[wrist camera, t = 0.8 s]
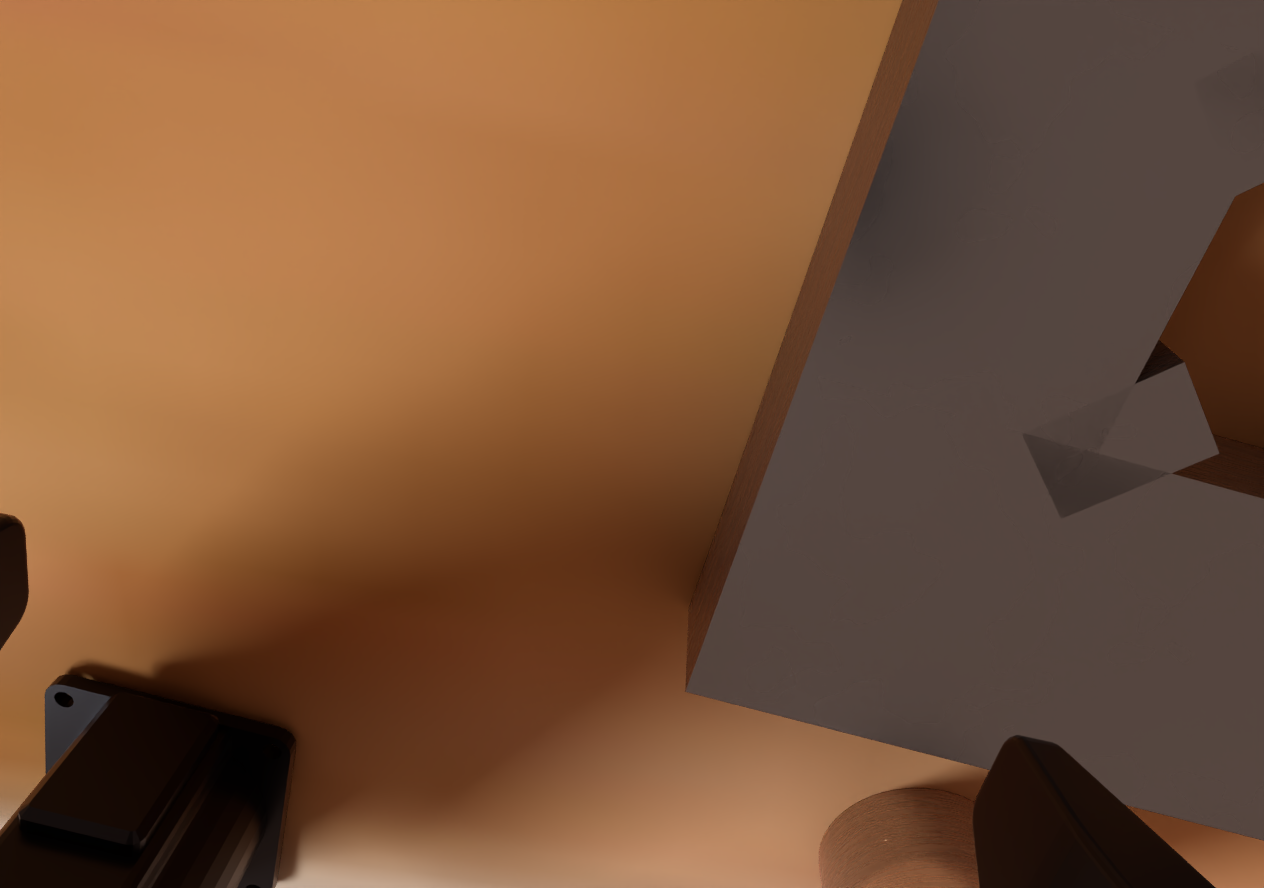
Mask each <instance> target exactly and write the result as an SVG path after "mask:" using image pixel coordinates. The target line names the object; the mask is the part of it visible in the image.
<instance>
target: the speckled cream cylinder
mask: <svg viewBox="0 0 1264 888" xmlns="http://www.w3.org/2000/svg"><path fill="white" fill-rule="evenodd" d="M973 807H974V802H973V801H971V800H969V799H966V798H964V797H962V796H959V795H956V794H953V793H950V792H945V791H940V790H934V789H924V788H910V789H899V790H893V791H888V792H884V793H880V794H877V795H874V796H871V797H869V798H866V799H864V800H862V801H860V802H858V803H856V804H854V805H852V806H851V807H850V808H848V809H847V810H845V811H844V812H843V813H841V814H840V815H839V816H838V817H837V818H836V819H835V820H834V821H833V823H832V824H831V825H830V826H829V827H828V829H827V831H826V833H825V834H824V836H823V839H822V841H821V844H820V849H819V868H820V877H821V886H822V888H979V883H978V874H977V865H976V856H975V847H974V838H973V829H972V813H973Z"/></svg>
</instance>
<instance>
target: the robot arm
mask: <svg viewBox="0 0 1264 888" xmlns="http://www.w3.org/2000/svg"><path fill="white" fill-rule="evenodd" d="M28 594H29V588H28V571H27V553H26V535H25V529H24V527H23V524H22V522H21V521H20V520H19V519H17V518H16V517H15V516H12V515H8V514H3V513H0V650H1V648H2V647H3V645H4V644H5V642H6V641H7V640H8V638H9V637H10V635H11V634H12V632H13V631H14V629H15V628H16V626H17V625H18V623H19V622H20V620H21V618H22V616H23V614H24V612H25V609H26V606H27V602H28ZM68 694H69V695H68ZM271 744H273V745H275V746H277V747H278V748H276V747H274V746H272V745H271ZM45 752H46V775H45V776H44V778H43V779H42V780H41V781H40V782H39V784H38V785H37V786H36V787H35V789H34V790H33V791H32V792H31V793H30V795H29V796H28V797H27V798H26V800H25V801H24V802H23V803H22V804H21V806H20V807H19V808H18V809H17V811H16V812H15V813H14V814H13V815H12V817H11V818H10V819H9V820H8V822H7V823H6V824H5V825H4V826H3V828H2V829H1V830H0V888H275V886H276V884H277V879H278V872H279V864H280V857H281V850H282V843H283V836H284V829H285V822H286V815H287V808H288V801H289V794H290V787H291V780H292V773H293V766H294V759H295V752H296V740H295V738H294V736H293V735H292V734H291V733H290V732H289V731H287V730H286V729H283V728H281V727H278V726H274V725H270V724H266V723H262V722H258V721H254V720H250V719H246V718H242V717H238V716H234V715H230V714H226V713H222V712H218V711H214V710H210V709H206V708H202V707H198V706H194V705H190V704H186V703H182V702H178V701H174V700H170V699H166V698H162V697H158V696H154V695H150V694H146V693H142V692H138V691H134V690H130V689H126V688H122V687H118V686H114V685H110V684H106V683H102V682H98V681H94V680H90V679H86V678H82V677H78V676H74V675H62V676H59V677H58V678H57V679H56V680H55V681H54V682H53V683H52V684H51V685H50V686H49V687H48V688H47V690H46V693H45ZM972 829H973V838H974V847H975V856H976V865H977V874H978V883H979V888H1215V887H1214V886H1213V885H1212V884H1211V883H1210V882H1209V881H1208V880H1206V879H1205V878H1204V877H1203V876H1202V875H1201V874H1200V873H1199V872H1198V871H1197V870H1196V869H1194V868H1193V867H1192V866H1191V865H1190V864H1189V863H1188V862H1187V861H1186V860H1185V859H1183V858H1182V857H1181V856H1180V855H1179V854H1178V853H1177V852H1176V851H1175V850H1174V849H1172V848H1171V847H1170V846H1169V845H1168V844H1167V843H1166V842H1165V841H1164V840H1163V839H1162V838H1160V837H1159V836H1158V835H1157V834H1156V833H1155V832H1154V831H1153V830H1152V829H1151V828H1149V827H1148V826H1147V825H1146V824H1145V823H1144V822H1143V821H1142V820H1141V819H1140V818H1139V817H1137V816H1136V815H1135V814H1134V813H1133V812H1132V811H1131V810H1130V809H1129V808H1128V807H1126V806H1125V805H1124V804H1123V803H1122V802H1121V801H1120V800H1119V799H1118V798H1117V797H1116V796H1114V795H1113V794H1112V793H1111V792H1110V791H1109V790H1108V789H1107V788H1106V787H1105V786H1103V785H1102V784H1101V783H1100V782H1099V781H1098V780H1097V779H1096V778H1095V777H1094V776H1093V775H1091V774H1090V773H1089V772H1088V771H1087V770H1086V769H1085V768H1084V767H1083V766H1082V765H1080V764H1079V763H1078V762H1077V761H1076V760H1075V759H1074V758H1073V757H1072V756H1071V755H1070V754H1068V753H1067V752H1066V751H1065V750H1064V749H1063V748H1062V747H1060V746H1059V745H1057V744H1055V743H1053V742H1049V741H1045V740H1040V739H1035V738H1031V737H1026V736H1022V735H1015V736H1012V737H1009V738H1008V739H1007V740H1006V741H1005V742H1004V744H1003V745H1002V747H1001V749H1000V751H999V753H998V755H997V757H996V759H995V761H994V763H993V765H992V767H991V769H990V771H989V773H988V775H987V777H986V779H985V781H984V783H983V785H982V787H981V789H980V791H979V793H978V795H977V797H976V800H975V803H974V807H973V813H972Z"/></svg>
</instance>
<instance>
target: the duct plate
mask: <svg viewBox="0 0 1264 888" xmlns="http://www.w3.org/2000/svg"><path fill="white" fill-rule="evenodd" d="M1262 183H1264V0H903V1H902V4H901V7H900V9H899V12H898V15H897V18H896V21H895V24H894V26H893V29H892V32H891V35H890V38H889V41H888V44H887V46H886V49H885V52H884V55H883V58H882V61H881V63H880V66H879V69H878V72H877V75H876V78H875V81H874V83H873V86H872V89H871V92H870V95H869V98H868V100H867V103H866V106H865V109H864V112H863V115H862V118H861V120H860V123H859V126H858V129H857V132H856V135H855V137H854V140H853V143H852V146H851V149H850V152H849V154H848V157H847V160H846V163H845V166H844V169H843V172H842V174H841V177H840V180H839V183H838V186H837V189H836V191H835V194H834V197H833V200H832V203H831V206H830V209H829V211H828V214H827V217H826V220H825V223H824V226H823V228H822V231H821V234H820V237H819V240H818V243H817V246H816V248H815V251H814V254H813V257H812V260H811V263H810V265H809V268H808V271H807V274H806V277H805V280H804V283H803V285H802V288H801V291H800V294H799V297H798V300H797V302H796V305H795V308H794V311H793V314H792V317H791V320H790V322H789V325H788V328H787V331H786V334H785V337H784V339H783V342H782V345H781V348H780V351H779V354H778V356H777V359H776V362H775V365H774V368H773V371H772V374H771V376H770V379H769V382H768V385H767V388H766V391H765V393H764V396H763V399H762V402H761V405H760V408H759V411H758V413H757V416H756V419H755V422H754V425H753V428H752V430H751V433H750V436H749V439H748V442H747V445H746V448H745V450H744V453H743V456H742V459H741V462H740V465H739V467H738V470H737V473H736V476H735V479H734V482H733V485H732V487H731V490H730V493H729V496H728V499H727V502H726V504H725V507H724V510H723V513H722V516H721V519H720V522H719V524H718V527H717V530H716V533H715V536H714V539H713V541H712V544H711V547H710V550H709V553H708V556H707V558H706V561H705V564H704V567H703V570H702V573H701V576H700V578H699V581H698V584H697V587H696V590H695V593H694V595H693V598H692V601H691V604H690V607H689V615H688V639H687V664H686V688H685V692H689V693H692V694H696V695H700V696H704V697H708V698H712V699H716V700H720V701H724V702H727V703H731V704H735V705H739V706H743V707H747V708H751V709H755V710H759V711H762V712H766V713H770V714H774V715H778V716H782V717H786V718H790V719H794V720H797V721H801V722H805V723H809V724H813V725H817V726H821V727H825V728H829V729H832V730H836V731H840V732H844V733H848V734H852V735H856V736H860V737H864V738H867V739H871V740H875V741H879V742H883V743H887V744H891V745H895V746H899V747H902V748H906V749H910V750H914V751H918V752H922V753H926V754H930V755H934V756H937V757H941V758H945V759H949V760H953V761H957V762H961V763H965V764H969V765H972V766H976V767H980V768H984V769H988V770H990V769H991V767H992V765H993V763H994V761H995V759H996V757H997V755H998V753H999V751H1000V749H1001V747H1002V745H1003V744H1004V742H1005V741H1006V740H1007V739H1008V738H1009V737H1012V736H1015V735H1022V736H1026V737H1031V738H1035V739H1040V740H1045V741H1049V742H1053V743H1055V744H1057V745H1059V746H1060V747H1062V748H1063V749H1064V750H1065V751H1066V752H1067V753H1068V754H1070V755H1071V756H1072V757H1073V758H1074V759H1075V760H1076V761H1077V762H1078V763H1079V764H1080V765H1082V766H1083V767H1084V768H1085V769H1086V770H1087V771H1088V772H1089V773H1090V774H1091V775H1093V776H1094V777H1095V778H1096V779H1097V780H1098V781H1099V782H1100V783H1101V784H1102V785H1103V786H1105V787H1106V788H1107V789H1108V790H1109V791H1110V792H1111V793H1112V794H1113V795H1114V796H1116V797H1117V798H1118V799H1119V800H1120V801H1121V802H1122V803H1123V804H1124V805H1128V806H1132V807H1136V808H1140V809H1143V810H1147V811H1151V812H1155V813H1159V814H1163V815H1167V816H1171V817H1175V818H1178V819H1182V820H1186V821H1190V822H1194V823H1198V824H1202V825H1206V826H1210V827H1213V828H1217V829H1221V830H1225V831H1229V832H1233V833H1237V834H1241V835H1245V836H1248V837H1252V838H1256V839H1260V840H1264V449H1263V448H1260V447H1256V446H1252V445H1249V444H1245V443H1242V442H1238V441H1234V440H1231V439H1227V438H1223V437H1220V436H1216V435H1213V434H1212V433H1211V430H1210V427H1209V425H1208V422H1207V420H1206V417H1205V414H1204V412H1203V409H1202V406H1201V404H1200V401H1199V399H1198V396H1197V393H1196V391H1195V388H1194V385H1193V383H1192V380H1191V378H1190V375H1189V372H1188V370H1187V367H1186V365H1185V362H1184V361H1183V360H1181V359H1180V358H1179V357H1178V356H1177V355H1176V354H1175V353H1173V352H1172V351H1171V350H1170V349H1169V348H1168V347H1166V346H1165V345H1164V344H1163V343H1162V342H1161V341H1160V340H1159V338H1160V336H1161V334H1162V332H1163V330H1164V329H1165V327H1166V325H1167V323H1168V321H1169V319H1170V317H1171V315H1172V314H1173V312H1174V310H1175V308H1176V306H1177V304H1178V302H1179V301H1180V299H1181V297H1182V295H1183V293H1184V291H1185V289H1186V287H1187V286H1188V284H1189V282H1190V280H1191V278H1192V276H1193V274H1194V272H1195V271H1196V269H1197V267H1198V265H1199V263H1200V261H1201V259H1202V258H1203V256H1204V254H1205V252H1206V250H1207V248H1208V246H1209V244H1210V243H1211V241H1212V239H1213V237H1214V235H1215V233H1216V231H1217V229H1218V228H1219V226H1220V224H1221V222H1222V220H1223V218H1224V216H1225V215H1226V213H1227V211H1228V209H1229V207H1230V205H1231V203H1232V201H1233V200H1234V198H1235V196H1237V195H1239V194H1241V193H1243V192H1245V191H1247V190H1249V189H1251V188H1254V187H1256V186H1258V185H1260V184H1262Z"/></svg>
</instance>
